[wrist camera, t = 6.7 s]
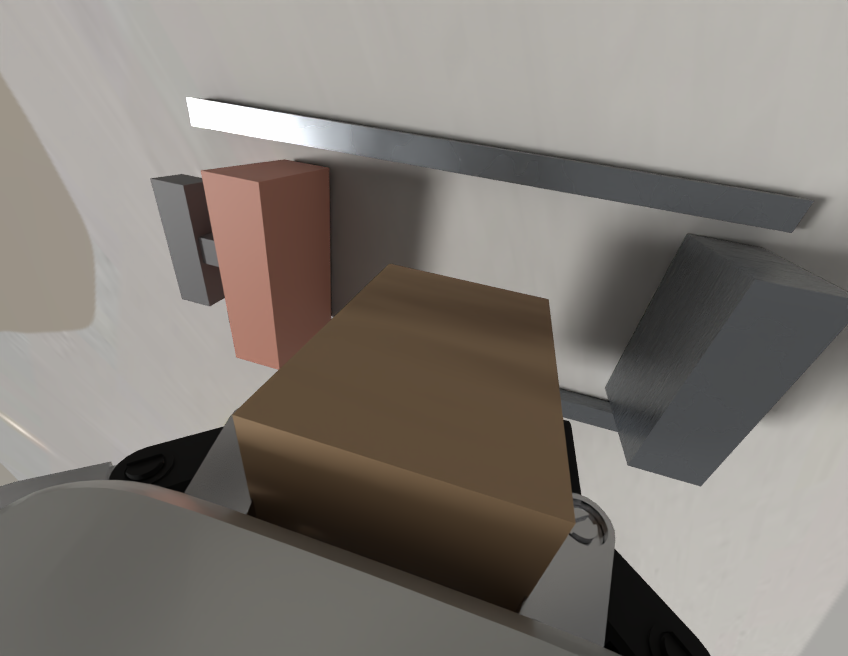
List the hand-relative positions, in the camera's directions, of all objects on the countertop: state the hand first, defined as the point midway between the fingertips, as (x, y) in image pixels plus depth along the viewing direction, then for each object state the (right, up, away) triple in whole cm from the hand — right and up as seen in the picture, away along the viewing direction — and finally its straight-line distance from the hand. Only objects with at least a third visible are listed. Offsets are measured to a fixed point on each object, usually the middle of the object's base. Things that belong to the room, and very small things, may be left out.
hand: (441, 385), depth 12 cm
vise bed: (0, +5, +8) cm, 9 cm away
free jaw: (-9, +7, +9) cm, 15 cm away
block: (0, 0, +1) cm, 1 cm away
